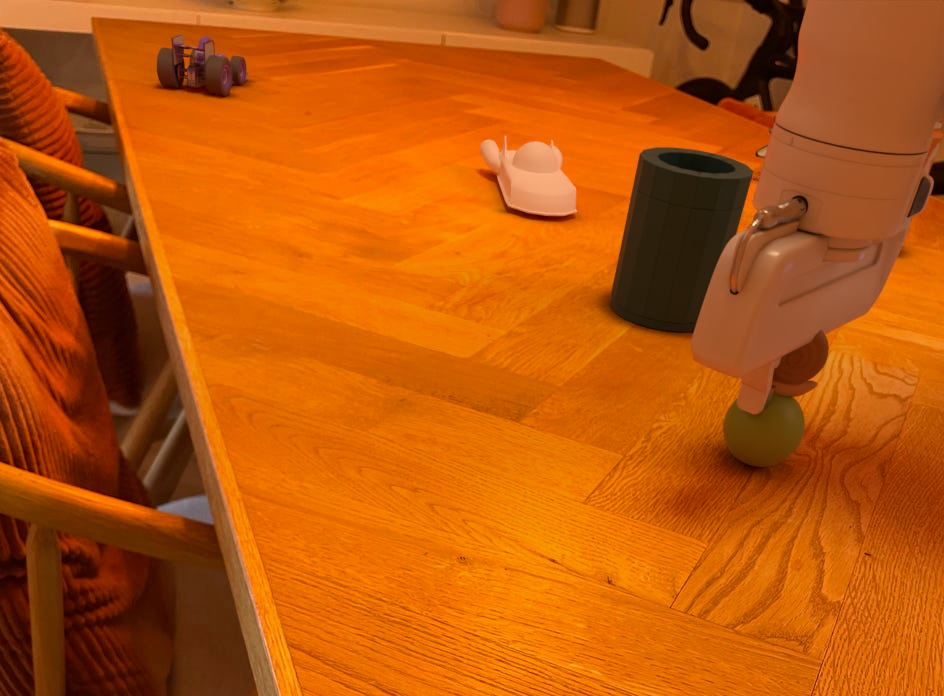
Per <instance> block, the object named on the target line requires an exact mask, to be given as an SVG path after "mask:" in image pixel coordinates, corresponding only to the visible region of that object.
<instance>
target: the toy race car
mask: <svg viewBox="0 0 944 696" xmlns="http://www.w3.org/2000/svg"><path fill="white" fill-rule="evenodd" d="M185 50H191V52H190V54H188V53H185ZM184 58H186V59H187V58H189V65H187V68H186V63H185V59H184ZM247 71H248V70H247V62H246V59H245V57H244V56H239V55H232V56H231V57H230V59H229V58H228V57H227V56H226V55H225V54H223V53H216V50H215V41H214V40H213V39H211V37H210V36H207V35H206V36H203V37H201V38H200V39H199V40H198V46H191V45H188V44H187V45H186V44H185V43H184V37H183V35H182V34H179V35H176V36H173V37H171V48H170V47H161V48H160V49H159V51H158V53H157V56H156V73H157V74H156V75H157V78H158V81H159V83H160V84H161V85H162V86H163V87H168V88H174V89H175V88H176V89H180V88H181V87H182V86H183V84H184V82H185V81H184V80H186V81H187V87H189V88H193V89H197V88H200V87H201V88H206V89H207V91H208V93H209V94H211V95H216V96H223V97H227V96H228V95H229V94H230V93H231V89H232V87H233V86H232V85H234V84H235V85H240V86H243V85H244V84H245V82H246V81H248V80H249V72H247Z"/></svg>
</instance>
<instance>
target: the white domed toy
mask: <svg viewBox="0 0 944 696" xmlns="http://www.w3.org/2000/svg"><path fill="white" fill-rule="evenodd" d="M507 144H508V143H507V135H504V137H503V143H502V149H501V150H500V148H499V146H498V145H497V143H496V141H494V140H493V139H485V140H483V141H482V142H481V143H480V146H479V154H480V156H481V158H482V159H483V161H484V162H485V164H486V165H487V166H488V168H490V169H491V170H492V171H493V172H495V175H496V177H497V178H496V179H497V182H498V185H499V187H500V191H501V193H502V196H503V199H504V202H505V204H506V205H507V207H508V208H511V209H514V210H517V211H520V212H524V213H526V214H531V215H539V216H545V217H566V216H569V215H573V214H577V213H578V210H577V208H576V207H577V187H576V186H575V184H573V182H571V180H570V179H569V177H568V176H567V175H566V174H565V172H563V171H562V167H563V158H564V157H563V154H562V152H561V150H560V149H559V148H558V147H557V146H555V145H554V140H553V139H551V140H550V145H548V144H547V143H545V142H543V141H539V140H538V141H537V140H536V141H535V140H534V141H528V142H526V143H524V144H522V145H521V146H520V147H519V148H518V149H517V150H516V149H515V150H514V149H508V147H507V146H508V145H507Z"/></svg>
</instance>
